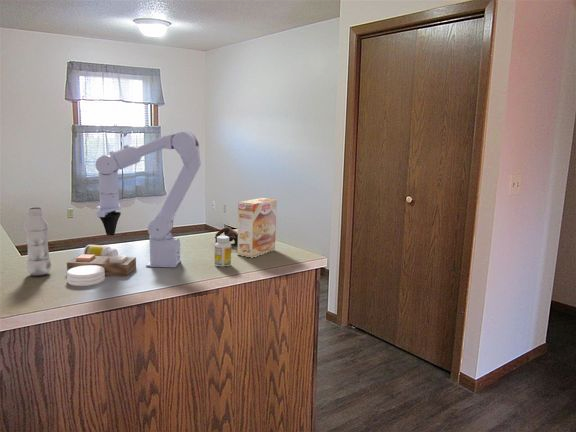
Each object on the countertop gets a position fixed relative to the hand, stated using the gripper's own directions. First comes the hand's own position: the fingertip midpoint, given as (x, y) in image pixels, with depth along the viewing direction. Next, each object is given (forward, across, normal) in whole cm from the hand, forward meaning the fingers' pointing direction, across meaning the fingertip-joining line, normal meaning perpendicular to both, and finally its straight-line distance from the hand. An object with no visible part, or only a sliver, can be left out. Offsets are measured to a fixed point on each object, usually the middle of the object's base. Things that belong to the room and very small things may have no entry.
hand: (110, 235), depth 149 cm
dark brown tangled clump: (+10, -28, +34) cm, 46 cm away
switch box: (+9, +8, 0) cm, 13 cm away
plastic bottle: (+10, +14, -16) cm, 23 cm away
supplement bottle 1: (+7, -2, -9) cm, 11 cm away
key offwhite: (+8, +9, +6) cm, 13 cm away
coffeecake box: (+10, -19, +46) cm, 51 cm away
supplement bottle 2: (+10, -2, +36) cm, 37 cm away
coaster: (+10, +18, 0) cm, 20 cm away
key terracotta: (+8, +8, -5) cm, 12 cm away
